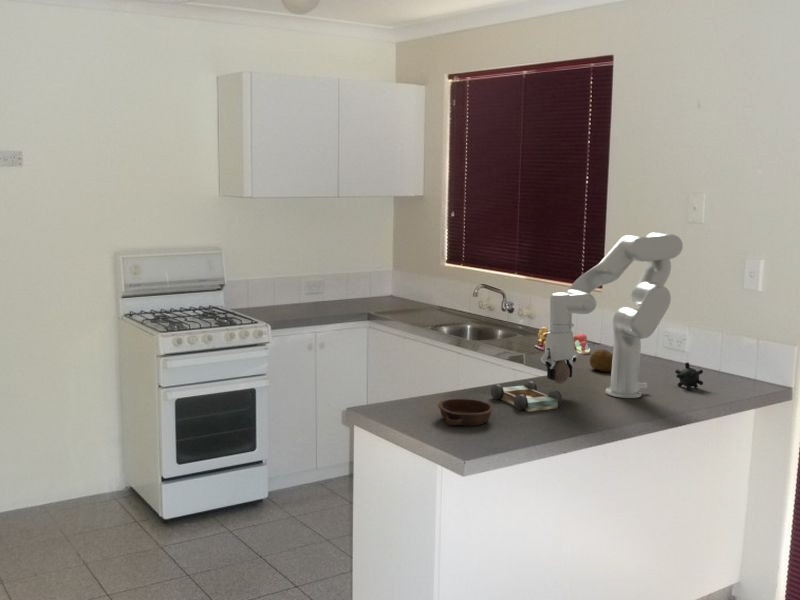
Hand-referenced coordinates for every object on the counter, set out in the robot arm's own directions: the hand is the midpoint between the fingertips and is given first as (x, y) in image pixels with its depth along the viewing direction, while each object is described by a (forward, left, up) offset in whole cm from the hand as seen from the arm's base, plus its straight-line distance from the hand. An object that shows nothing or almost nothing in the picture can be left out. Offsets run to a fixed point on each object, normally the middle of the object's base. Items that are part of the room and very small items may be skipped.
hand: (559, 377), depth 306 cm
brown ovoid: (0, 0, -2) cm, 2 cm away
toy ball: (-56, +7, -7) cm, 57 cm away
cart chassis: (+16, +3, -7) cm, 18 cm away
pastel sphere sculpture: (-56, -69, -7) cm, 89 cm away
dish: (+47, +14, -7) cm, 50 cm away
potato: (-43, -26, -7) cm, 51 cm away
